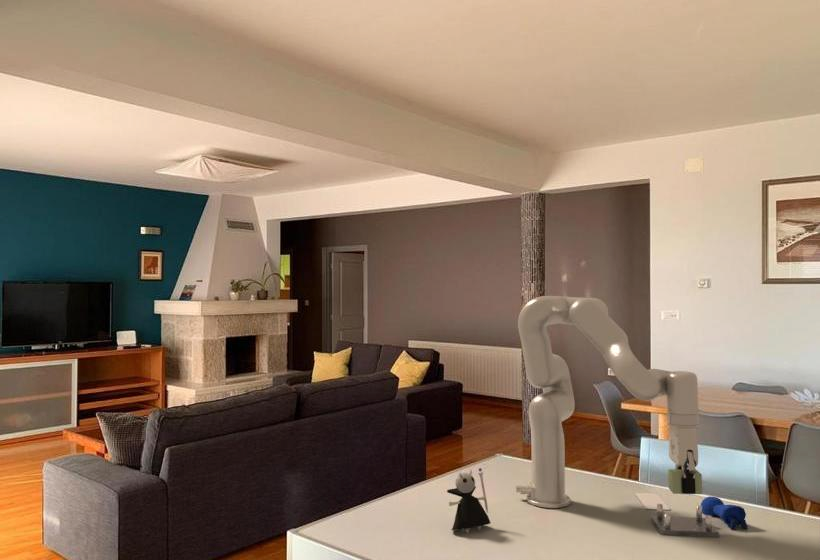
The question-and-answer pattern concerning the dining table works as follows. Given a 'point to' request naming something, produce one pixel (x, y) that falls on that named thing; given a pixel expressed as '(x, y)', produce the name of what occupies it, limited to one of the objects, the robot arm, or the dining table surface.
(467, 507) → the toy
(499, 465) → the dining table surface
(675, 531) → the chassis
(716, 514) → the toy
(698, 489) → the block
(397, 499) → the dining table surface
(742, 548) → the dining table surface
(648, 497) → the smartphone
